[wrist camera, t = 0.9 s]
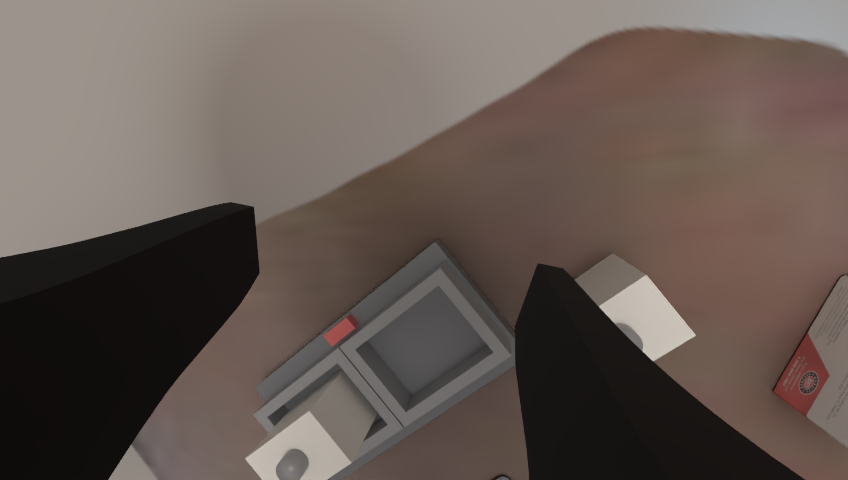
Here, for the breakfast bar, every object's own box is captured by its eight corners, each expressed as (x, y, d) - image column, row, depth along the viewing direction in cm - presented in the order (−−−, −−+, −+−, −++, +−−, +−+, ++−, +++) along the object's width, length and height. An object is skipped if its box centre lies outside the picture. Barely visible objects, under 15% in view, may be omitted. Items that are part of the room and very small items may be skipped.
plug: (650, 299, 25) (706, 343, 19) (574, 348, 27) (599, 406, 20) (612, 252, 25) (653, 279, 19) (538, 304, 27) (551, 347, 20)
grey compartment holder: (527, 346, 27) (539, 418, 19) (341, 470, 32) (286, 572, 24) (438, 238, 27) (412, 263, 19) (265, 378, 32) (184, 447, 24)
